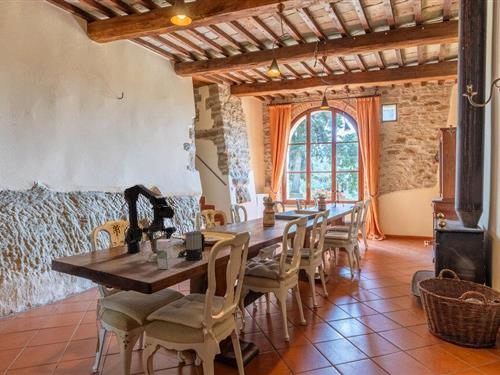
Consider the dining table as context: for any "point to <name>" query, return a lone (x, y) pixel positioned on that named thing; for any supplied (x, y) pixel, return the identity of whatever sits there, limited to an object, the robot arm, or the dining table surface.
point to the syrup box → (164, 253)
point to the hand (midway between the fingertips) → (159, 244)
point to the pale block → (154, 257)
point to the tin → (154, 244)
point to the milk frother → (193, 246)
